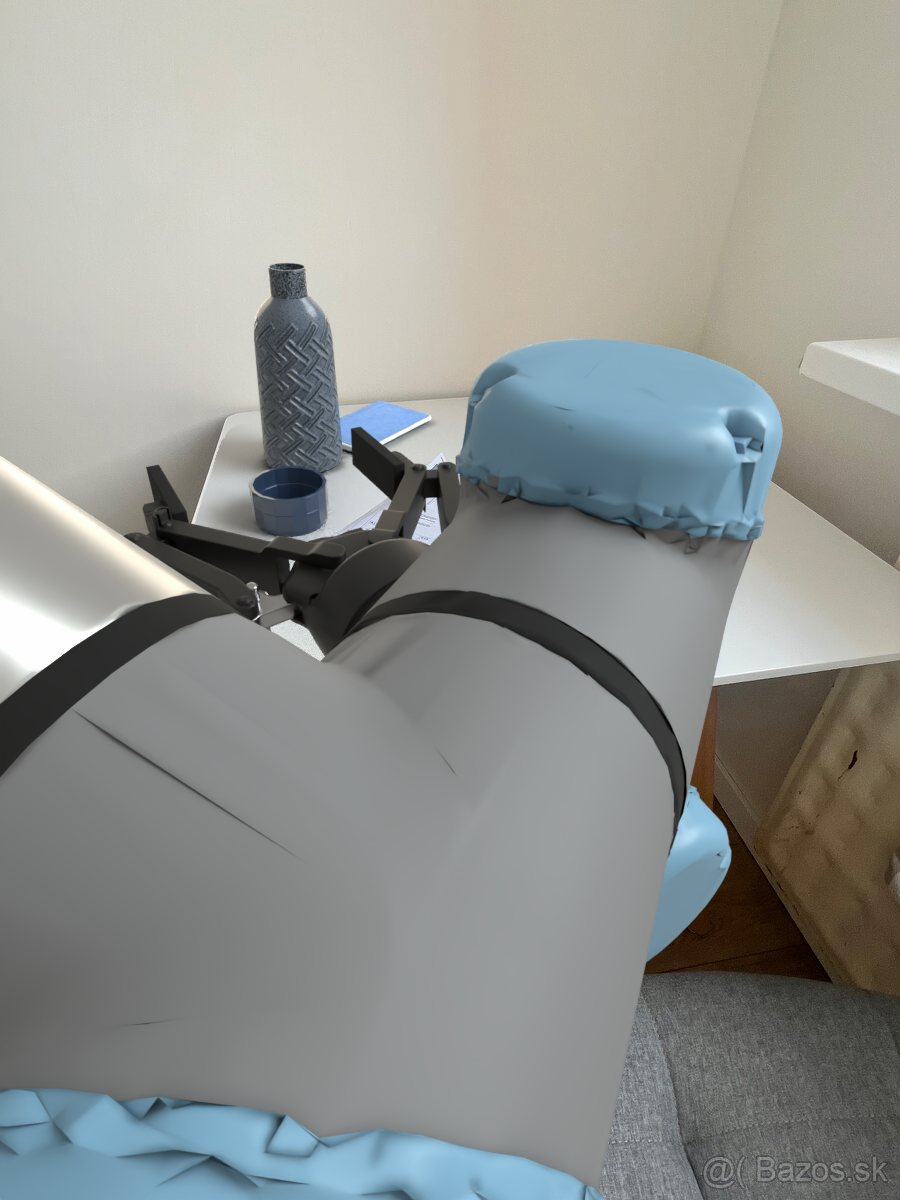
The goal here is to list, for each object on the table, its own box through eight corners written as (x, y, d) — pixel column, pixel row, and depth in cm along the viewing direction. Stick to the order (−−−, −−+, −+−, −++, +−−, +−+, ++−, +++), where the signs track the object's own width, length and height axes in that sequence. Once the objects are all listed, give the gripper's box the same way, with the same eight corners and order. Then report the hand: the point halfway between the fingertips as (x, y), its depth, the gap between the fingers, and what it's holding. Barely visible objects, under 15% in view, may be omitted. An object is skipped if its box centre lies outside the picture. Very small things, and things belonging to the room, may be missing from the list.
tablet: (364, 458, 112) (364, 450, 112) (307, 437, 118) (306, 430, 117) (433, 422, 125) (434, 415, 125) (379, 405, 131) (378, 398, 130)
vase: (346, 474, 107) (335, 276, 91) (265, 478, 105) (239, 276, 88) (339, 442, 117) (329, 257, 100) (265, 445, 115) (241, 257, 98)
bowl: (240, 517, 96) (234, 481, 92) (300, 494, 102) (296, 459, 98) (283, 545, 90) (278, 508, 87) (343, 519, 96) (341, 483, 93)
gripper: (152, 808, 29) (74, 559, 43) (608, 628, 40) (425, 477, 54) (107, 673, 24) (36, 445, 39) (634, 512, 35) (427, 381, 50)
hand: (262, 464), depth 46 cm, fingers open, 13 cm apart
